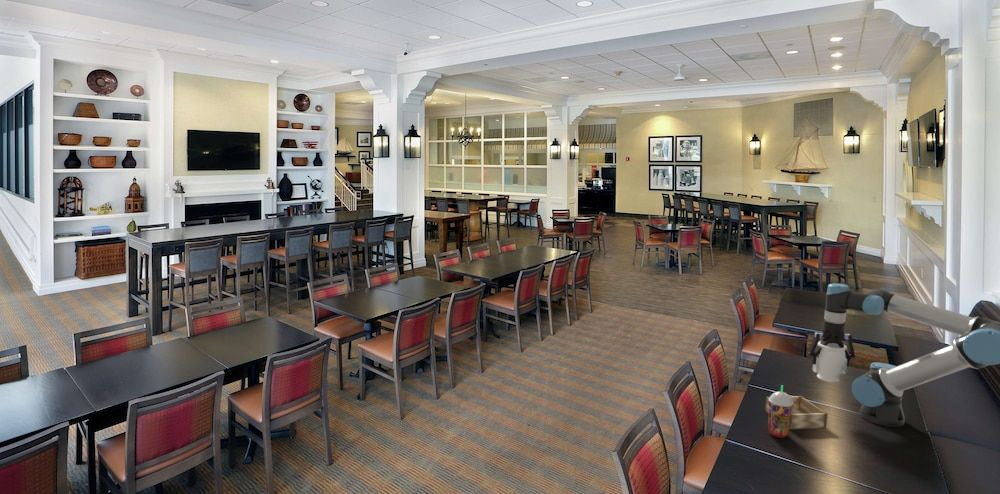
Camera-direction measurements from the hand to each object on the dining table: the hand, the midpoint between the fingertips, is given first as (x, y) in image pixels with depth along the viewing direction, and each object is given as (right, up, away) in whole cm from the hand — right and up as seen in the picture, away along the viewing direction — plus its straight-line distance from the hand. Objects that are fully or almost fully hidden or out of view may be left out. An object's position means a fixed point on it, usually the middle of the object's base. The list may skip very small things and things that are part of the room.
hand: (829, 372), depth 226 cm
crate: (-16, -18, -4) cm, 25 cm away
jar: (0, -3, 0) cm, 3 cm away
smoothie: (-30, -20, -16) cm, 40 cm away
